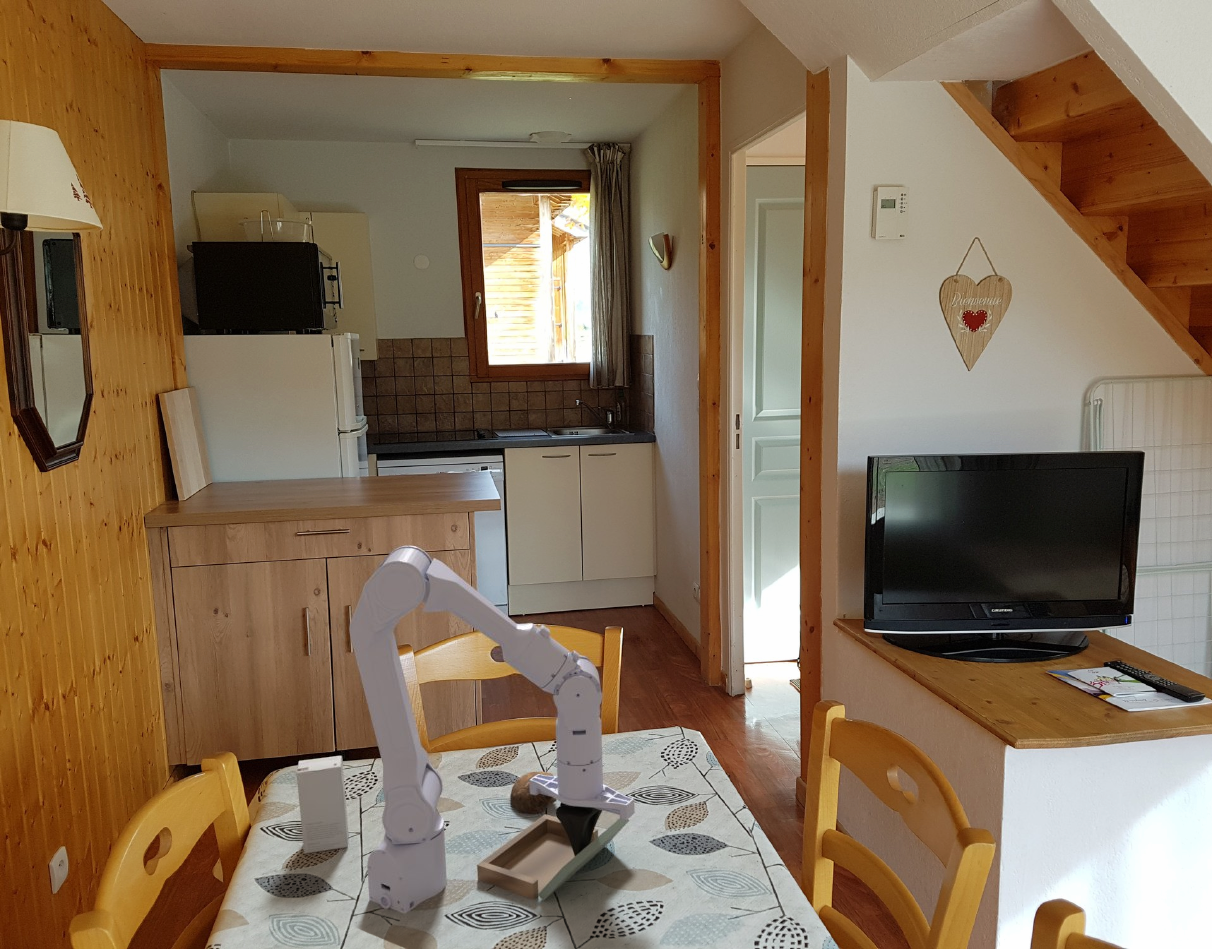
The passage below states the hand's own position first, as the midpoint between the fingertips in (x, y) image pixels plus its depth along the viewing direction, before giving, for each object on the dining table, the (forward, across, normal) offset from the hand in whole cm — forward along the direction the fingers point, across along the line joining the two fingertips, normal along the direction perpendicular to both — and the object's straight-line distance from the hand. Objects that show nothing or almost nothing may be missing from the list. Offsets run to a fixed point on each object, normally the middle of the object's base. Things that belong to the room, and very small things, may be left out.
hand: (582, 857), depth 120 cm
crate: (+4, +7, 0) cm, 8 cm away
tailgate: (+2, +1, 0) cm, 3 cm away
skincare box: (+4, +37, +9) cm, 38 cm away
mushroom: (+4, +17, -13) cm, 22 cm away
